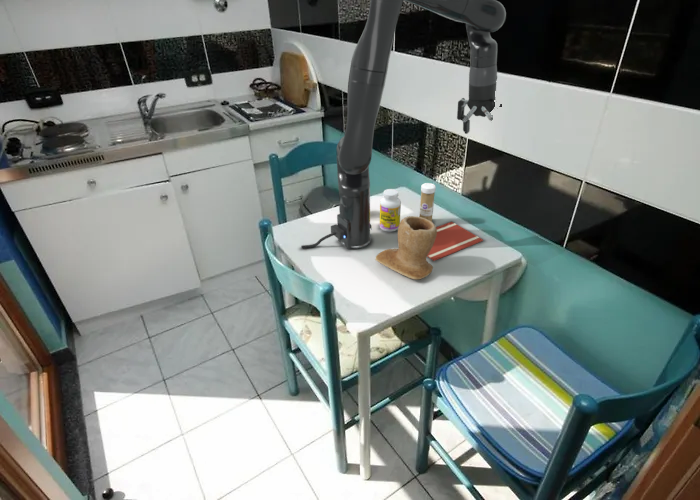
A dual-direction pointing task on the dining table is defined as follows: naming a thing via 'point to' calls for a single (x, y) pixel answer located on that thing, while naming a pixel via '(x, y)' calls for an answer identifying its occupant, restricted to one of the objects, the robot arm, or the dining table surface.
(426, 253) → the stone cup
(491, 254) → the dining table surface
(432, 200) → the sprinkles bottle
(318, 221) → the dining table surface
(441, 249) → the dish cloth
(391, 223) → the supplement bottle
